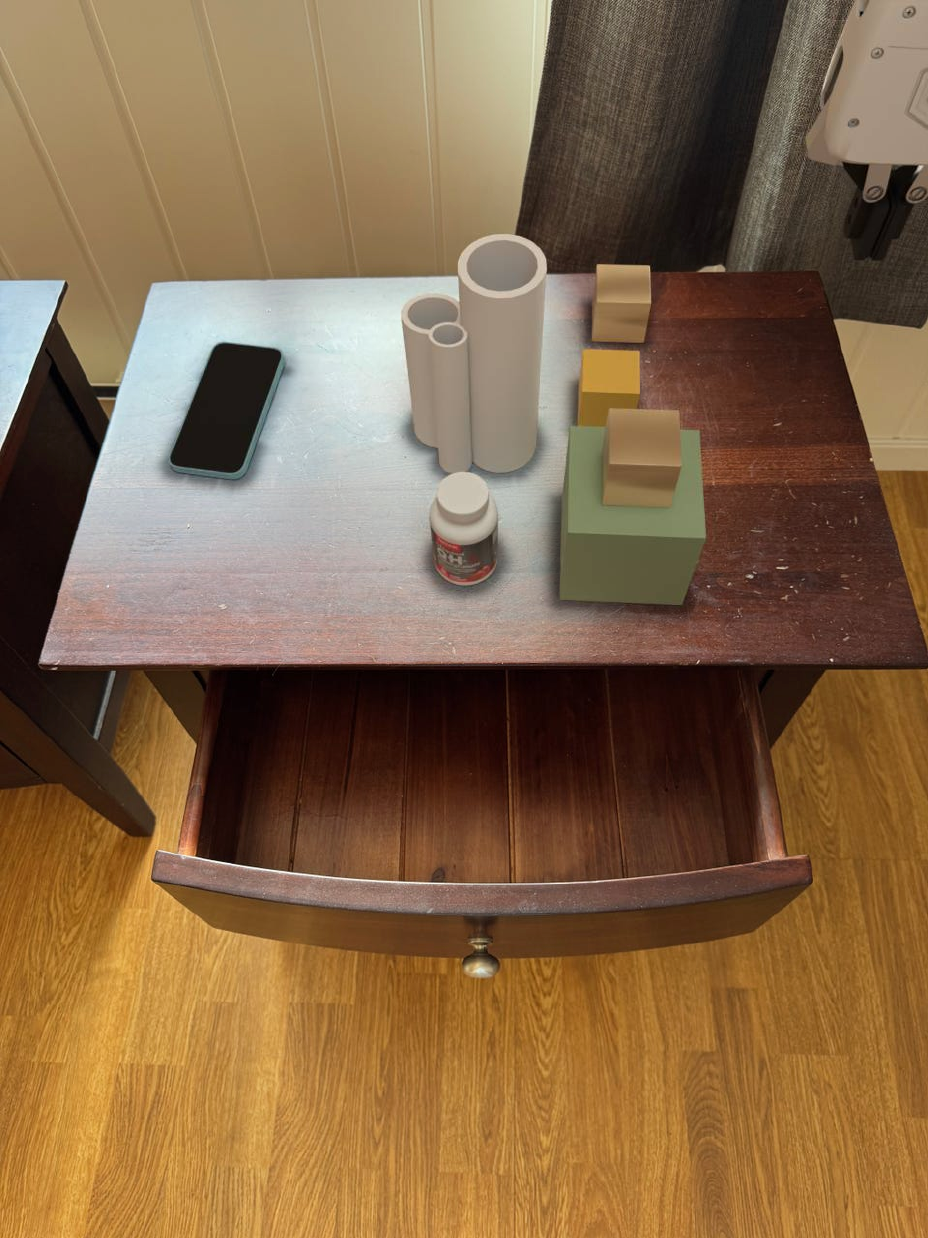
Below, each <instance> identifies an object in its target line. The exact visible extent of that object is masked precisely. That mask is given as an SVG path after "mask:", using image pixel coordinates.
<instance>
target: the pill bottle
mask: <svg viewBox="0 0 928 1238" xmlns="http://www.w3.org/2000/svg"><path fill="white" fill-rule="evenodd" d="M429 525H430V526H429V527H430V533H431V534H430V535H431V536H430V537H431V545H432V553H433V554H432V555H433V561H434V565H435V569H436V570H437V572H438V573H439V575H440V576H441V577H442V578H443V579H444V580H446V581H447V582H449V583H451V584H453V585H458V586H473V585H477V584H479V583H482V582H483V581H485V580H487V579H488V578H490V576H491V575H492V574H493V573H494V571H495V569H496V566H497V564H498V555H499V553H498V552H499V551H498V547H499V541H498V540H499V509H498V506H497V503H496V501H495V499H494V497H493V496H492V495H491V494H490V491H489V486H488V484H487V483H486V481H485V480H484V479H483V478H482V477H481V476H479V475H478V474H475V473H473V472H469V471H465V472H456V473H453V474H452V473H449V474H448V475H447V476H445V477H444V478H443V479H442V480H441V481H440V482H439V484H438V486H437V489H436V497H435V498H434V500H433V501H432V504H431V506H430V509H429Z"/></svg>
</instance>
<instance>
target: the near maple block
mask: <svg viewBox="0 0 928 1238" xmlns="http://www.w3.org/2000/svg"><path fill="white" fill-rule="evenodd" d="M680 419H681V418H680V411H679V410H674V409H673V410H672V409H642V408H641V409H640V408H637V409H616V408H609V411H608V417H607V424H606V430H605V437H604V443H603V449H602V505H610V506H635V507H661V508H670V506H671V503H672V499H673V496H674V492H675V489H676V485H677V482H678V478H679V475H680V471H681V467H682V458H681V438H680V430H681V421H680Z"/></svg>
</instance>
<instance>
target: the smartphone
mask: <svg viewBox="0 0 928 1238" xmlns="http://www.w3.org/2000/svg"><path fill="white" fill-rule="evenodd" d="M285 363H286V360H285V355H284V353H283V351H282V349H280V348H278V347H273V346H272V347H271V346H264V345H258V344H257V345H256V344H250V343H249V344H248V343H241V342H240V343H238V342H229V341H220V342H217V343H216V344H214V346H213V347H212V348H211V350H210V351H209V354H208V356H207V359H206V362H205V364H204V367H203V369H202V372H201V375H200V377H199V379H198V382H197V384H196V387H195V389H194V392H193V395H192V397H191V399H190V402H189V404H188V407H187V409H186V412H185V415H184V417H183V419H182V422H181V425H180V427H179V430H178V432H177V434H176V436H175V439H174V441H173V444H172V446H171V449H170V452H169V455H168V463H169V466H170V467H171V469H172V470H173V471H175V472H177V473H182V474H189V475H197V476H203V477H210V478H219V479H225V480H226V479H228V480H238V479H241V478H242V477H243V476H244V475H245V474H246V473H247V471H248V468H249V466H250V463H251V460H252V457H253V455H254V452H255V449H256V445H257V444H258V440H259V438H260V435H261V433H262V432H261V431H262V429H263V426H264V423H265V420H266V417H267V414H268V412H269V409H270V406H271V403H272V400H273V397H274V395H275V393H276V390H277V386H278V383H279V380H280V378H281V375H282V372H283V370H284V366H285Z"/></svg>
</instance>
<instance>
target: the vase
mask: <svg viewBox="0 0 928 1238" xmlns="http://www.w3.org/2000/svg"><path fill="white" fill-rule="evenodd" d="M547 272H548V266H547V258H546V255H545V253H544V252H543V250H542V249H541V247H539V246H538V245H537V244H536V243H535V242H533V241H531V240H530V239H527V238H526V237H523V236H520V235H516V234H509V233H499V234H497V233H496V234H490V235H487V236H484V237H480V238H478V239H477V240H474V241H473V242H471V243H469V244H468V245H467V246H466V247H465V249H464V250H463V251H462V252H461V254H460V256H459V259H458V261H457V279H458V280H457V281H458V299H459V300H458V299H456V298H455V297H452V296H450V295H449V294H443V293H438V292H436V293H424V294H420V295H417V296H415V297H412V298H411V299H409V300H407V302H406V303H404V305H402V306H403V307H402V308H401V310H400V318H401V325H402V326H401V327H402V334H403V344H404V352H405V361H406V370H407V378H408V388H409V396H410V405H411V413H412V421H413V430H414V434H415V436H416V438H417V440H419V441H420V442H421V443H423V445H426V446H427V447H430V448H437V450H438V463H439V466H440V468H441V469H442V470H443V471H444V472H446V473H448V474H453V473H456V472H468V471H469V469H471V467H472V465H473V464H474V465H475V466H476V467H479V468H480V469H482V470H484V471H486V472H490V473H494V474H503V473H505V474H506V473H511V472H514V471H517V470H519V469H521V468H523V467H524V466H525V465H527V464H528V463H529V462H530V460H531V459H532V458H533V456H534V455H535V451H536V448H537V437H538V421H539V420H538V419H539V405H540V390H541V389H540V387H541V371H542V355H543V340H544V325H545V323H544V322H545V321H544V320H545V308H546V307H545V305H546V288H547V274H548V273H547Z"/></svg>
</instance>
